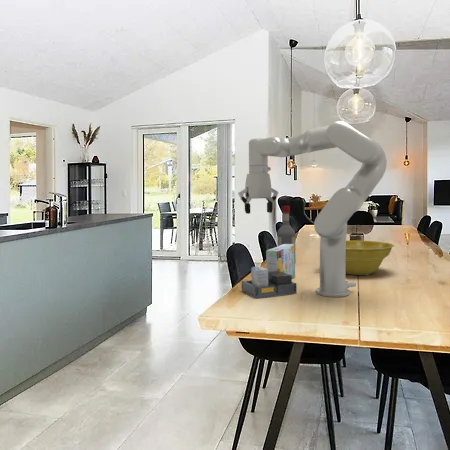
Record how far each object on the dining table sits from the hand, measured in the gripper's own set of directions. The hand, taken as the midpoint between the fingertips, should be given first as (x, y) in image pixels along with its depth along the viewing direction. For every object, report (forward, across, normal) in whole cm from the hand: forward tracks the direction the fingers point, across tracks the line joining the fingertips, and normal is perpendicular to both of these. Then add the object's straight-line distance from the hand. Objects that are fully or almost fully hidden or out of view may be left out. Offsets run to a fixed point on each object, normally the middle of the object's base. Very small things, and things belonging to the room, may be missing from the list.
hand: (258, 212), depth 189 cm
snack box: (+31, -13, -6) cm, 34 cm away
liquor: (+31, -37, -43) cm, 64 cm away
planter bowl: (+31, -54, -7) cm, 62 cm away
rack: (+30, +1, +10) cm, 32 cm away
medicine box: (+29, +5, +10) cm, 31 cm away
